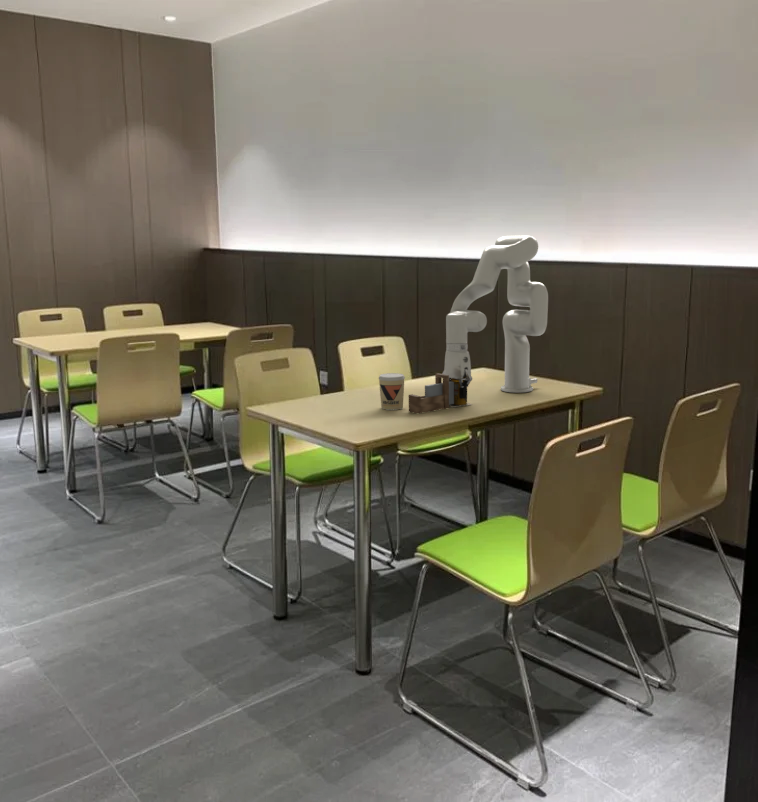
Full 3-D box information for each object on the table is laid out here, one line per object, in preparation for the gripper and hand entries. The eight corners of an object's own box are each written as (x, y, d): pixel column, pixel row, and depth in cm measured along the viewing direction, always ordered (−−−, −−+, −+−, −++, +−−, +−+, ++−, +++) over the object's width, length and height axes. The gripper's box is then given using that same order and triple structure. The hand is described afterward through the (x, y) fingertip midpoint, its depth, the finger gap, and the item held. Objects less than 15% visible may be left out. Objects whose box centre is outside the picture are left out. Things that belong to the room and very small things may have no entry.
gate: (451, 403, 286) (450, 381, 284) (453, 403, 285) (453, 382, 283) (424, 407, 279) (424, 385, 278) (427, 408, 278) (427, 386, 277)
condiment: (472, 404, 286) (472, 372, 284) (453, 407, 282) (453, 374, 279) (459, 401, 292) (459, 369, 290) (441, 404, 288) (441, 372, 285)
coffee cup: (377, 410, 280) (376, 377, 278) (381, 405, 289) (380, 372, 287) (403, 411, 279) (403, 377, 276) (406, 405, 288) (406, 373, 285)
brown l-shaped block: (439, 405, 286) (438, 373, 283) (448, 408, 281) (448, 375, 279) (408, 411, 278) (407, 377, 275) (417, 414, 273) (417, 379, 271)
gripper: (480, 348, 278) (480, 398, 281) (449, 344, 292) (449, 391, 295) (464, 351, 273) (464, 401, 277) (433, 346, 287) (434, 394, 291)
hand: (457, 396), depth 286 cm, fingers closed on condiment, 6 cm apart
